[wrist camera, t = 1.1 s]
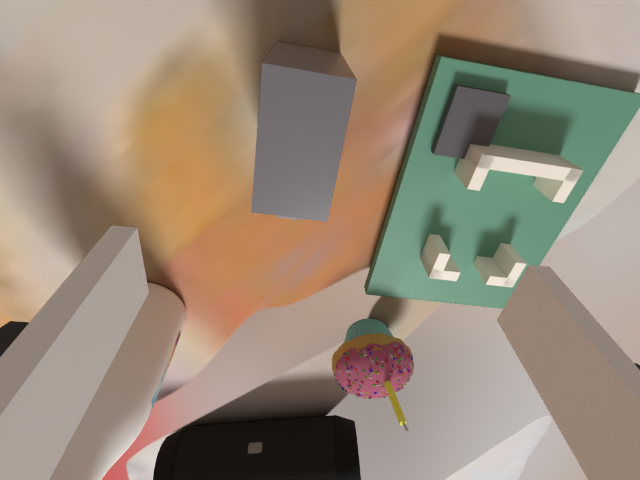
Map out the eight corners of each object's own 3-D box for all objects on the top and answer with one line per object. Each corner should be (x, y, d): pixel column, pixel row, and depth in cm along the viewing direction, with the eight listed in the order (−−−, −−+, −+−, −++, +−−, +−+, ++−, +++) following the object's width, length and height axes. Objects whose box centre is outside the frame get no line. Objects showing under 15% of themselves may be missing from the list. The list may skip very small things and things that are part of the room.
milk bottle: (97, 286, 37) (-75, 525, 20) (169, 273, 36) (53, 509, 19) (133, 336, 41) (16, 568, 24) (198, 325, 40) (123, 556, 24)
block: (276, 41, 25) (262, 62, 17) (340, 52, 26) (356, 79, 17) (266, 162, 30) (250, 226, 22) (319, 170, 30) (324, 235, 22)
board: (436, 54, 26) (456, 63, 22) (634, 92, 28) (681, 105, 24) (364, 286, 38) (370, 315, 34) (506, 301, 40) (525, 331, 36)
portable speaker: (352, 398, 49) (361, 479, 41) (354, 436, 55) (363, 514, 47) (167, 412, 50) (140, 495, 42) (188, 448, 55) (167, 528, 47)
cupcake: (384, 295, 39) (411, 399, 29) (415, 339, 43) (449, 444, 33) (316, 326, 41) (319, 432, 31) (352, 365, 45) (365, 470, 35)
